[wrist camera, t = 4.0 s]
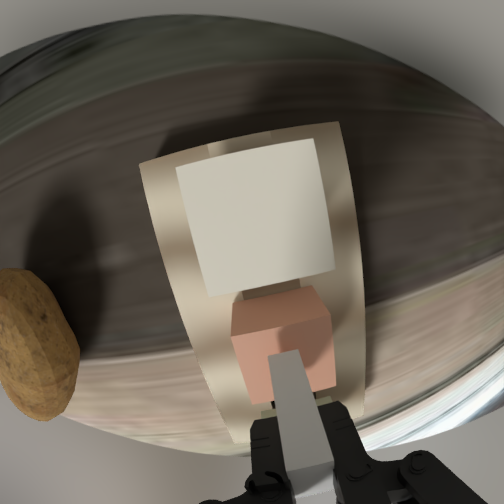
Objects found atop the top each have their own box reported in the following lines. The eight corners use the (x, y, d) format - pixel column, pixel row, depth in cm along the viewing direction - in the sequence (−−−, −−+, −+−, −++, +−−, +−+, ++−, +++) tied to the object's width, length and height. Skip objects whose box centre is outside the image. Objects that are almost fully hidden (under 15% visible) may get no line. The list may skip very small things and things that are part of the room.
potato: (97, 267, 19) (36, 312, 11) (100, 394, 22) (70, 450, 14) (15, 238, 18) (-47, 264, 10) (28, 360, 21) (-9, 401, 13)
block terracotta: (233, 289, 19) (230, 336, 13) (304, 273, 19) (330, 314, 13) (249, 347, 20) (252, 404, 14) (313, 333, 20) (336, 386, 14)
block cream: (200, 171, 15) (175, 167, 9) (286, 153, 15) (313, 138, 9) (220, 255, 17) (208, 297, 11) (302, 237, 16) (335, 269, 10)
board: (151, 165, 17) (138, 163, 15) (326, 127, 17) (338, 121, 15) (235, 425, 23) (234, 444, 21) (355, 399, 23) (363, 415, 21)
